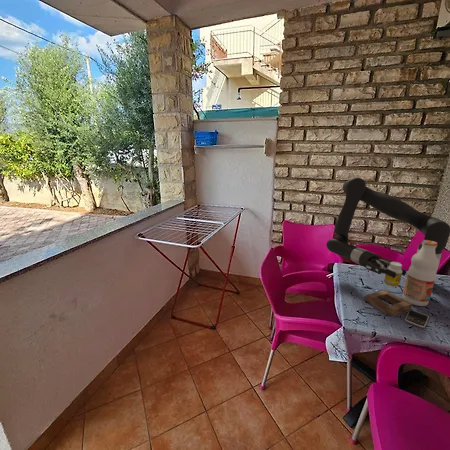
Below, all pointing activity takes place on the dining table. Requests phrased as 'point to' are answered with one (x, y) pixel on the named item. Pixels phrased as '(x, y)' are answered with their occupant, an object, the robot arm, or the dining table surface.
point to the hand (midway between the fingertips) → (400, 274)
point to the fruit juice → (421, 275)
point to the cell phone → (416, 318)
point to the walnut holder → (390, 310)
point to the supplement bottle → (396, 281)
